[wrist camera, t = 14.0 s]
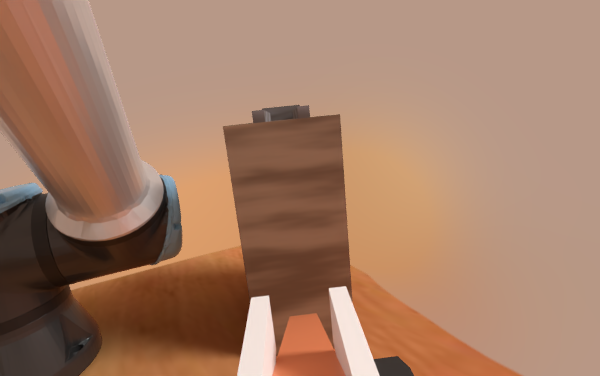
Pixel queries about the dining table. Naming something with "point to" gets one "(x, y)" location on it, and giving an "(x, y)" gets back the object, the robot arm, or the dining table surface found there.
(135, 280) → the dining table surface
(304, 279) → the stand
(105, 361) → the dining table surface
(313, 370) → the lever bar
